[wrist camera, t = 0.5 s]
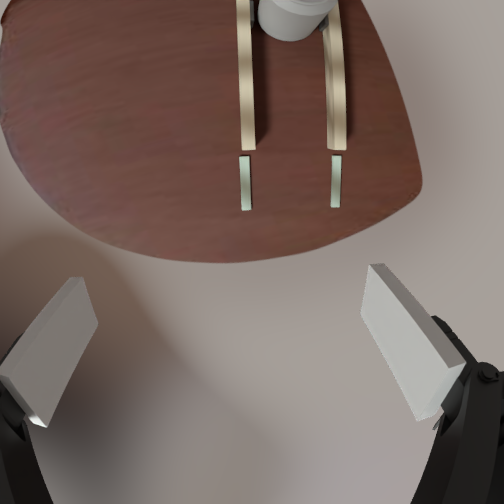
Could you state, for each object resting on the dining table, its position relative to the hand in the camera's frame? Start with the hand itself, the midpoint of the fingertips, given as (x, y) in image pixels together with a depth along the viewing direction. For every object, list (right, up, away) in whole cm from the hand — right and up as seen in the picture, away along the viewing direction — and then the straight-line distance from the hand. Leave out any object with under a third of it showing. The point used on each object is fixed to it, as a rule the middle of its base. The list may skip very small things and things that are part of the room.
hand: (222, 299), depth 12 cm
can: (+6, +32, +16) cm, 36 cm away
